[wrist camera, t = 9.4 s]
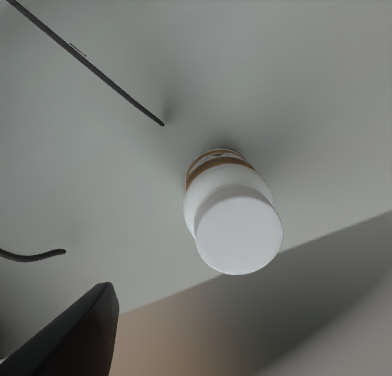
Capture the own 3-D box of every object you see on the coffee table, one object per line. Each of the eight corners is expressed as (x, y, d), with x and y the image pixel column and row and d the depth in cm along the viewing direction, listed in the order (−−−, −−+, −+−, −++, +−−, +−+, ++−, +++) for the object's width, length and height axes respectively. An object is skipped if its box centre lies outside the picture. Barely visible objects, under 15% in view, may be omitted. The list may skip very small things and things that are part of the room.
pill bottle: (245, 139, 17) (289, 170, 10) (256, 203, 18) (302, 273, 11) (176, 156, 17) (169, 198, 10) (192, 218, 19) (196, 295, 11)
